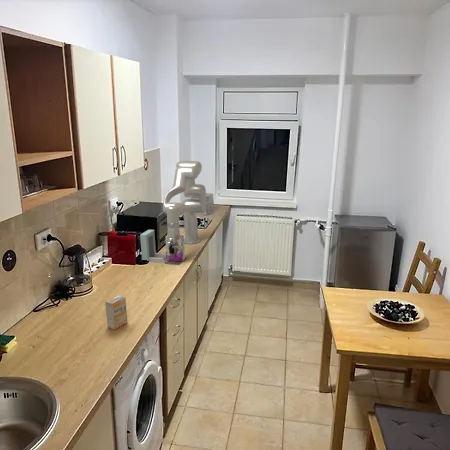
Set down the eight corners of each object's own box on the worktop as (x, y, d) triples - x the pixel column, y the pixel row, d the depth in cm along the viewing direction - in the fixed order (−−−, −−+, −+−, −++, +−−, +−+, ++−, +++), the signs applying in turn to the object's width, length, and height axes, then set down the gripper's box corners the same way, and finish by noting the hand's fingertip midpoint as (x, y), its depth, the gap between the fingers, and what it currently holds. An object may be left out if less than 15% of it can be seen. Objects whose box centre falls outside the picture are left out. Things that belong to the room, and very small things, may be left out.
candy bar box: (166, 261, 263) (164, 236, 259) (168, 258, 268) (166, 234, 263) (183, 262, 261) (181, 237, 257) (185, 259, 266) (183, 235, 262)
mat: (172, 257, 271) (172, 256, 271) (186, 258, 269) (186, 257, 269) (165, 263, 260) (165, 263, 260) (179, 265, 258) (179, 264, 258)
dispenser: (150, 255, 276) (148, 229, 271) (171, 257, 271) (170, 231, 267) (142, 261, 265) (140, 234, 260) (164, 263, 260) (162, 236, 255)
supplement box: (114, 330, 183) (112, 303, 179) (107, 327, 185) (104, 301, 182) (128, 322, 189) (125, 296, 186) (120, 319, 192) (118, 294, 188)
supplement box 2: (214, 212, 386) (213, 193, 381) (206, 215, 375) (205, 196, 370) (199, 210, 394) (198, 191, 389) (190, 213, 384) (190, 194, 379)
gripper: (173, 221, 267) (174, 246, 272) (162, 228, 251) (163, 255, 256) (184, 221, 265) (185, 247, 270) (173, 229, 249) (175, 256, 254)
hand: (174, 251), depth 263 cm, fingers open, 9 cm apart
